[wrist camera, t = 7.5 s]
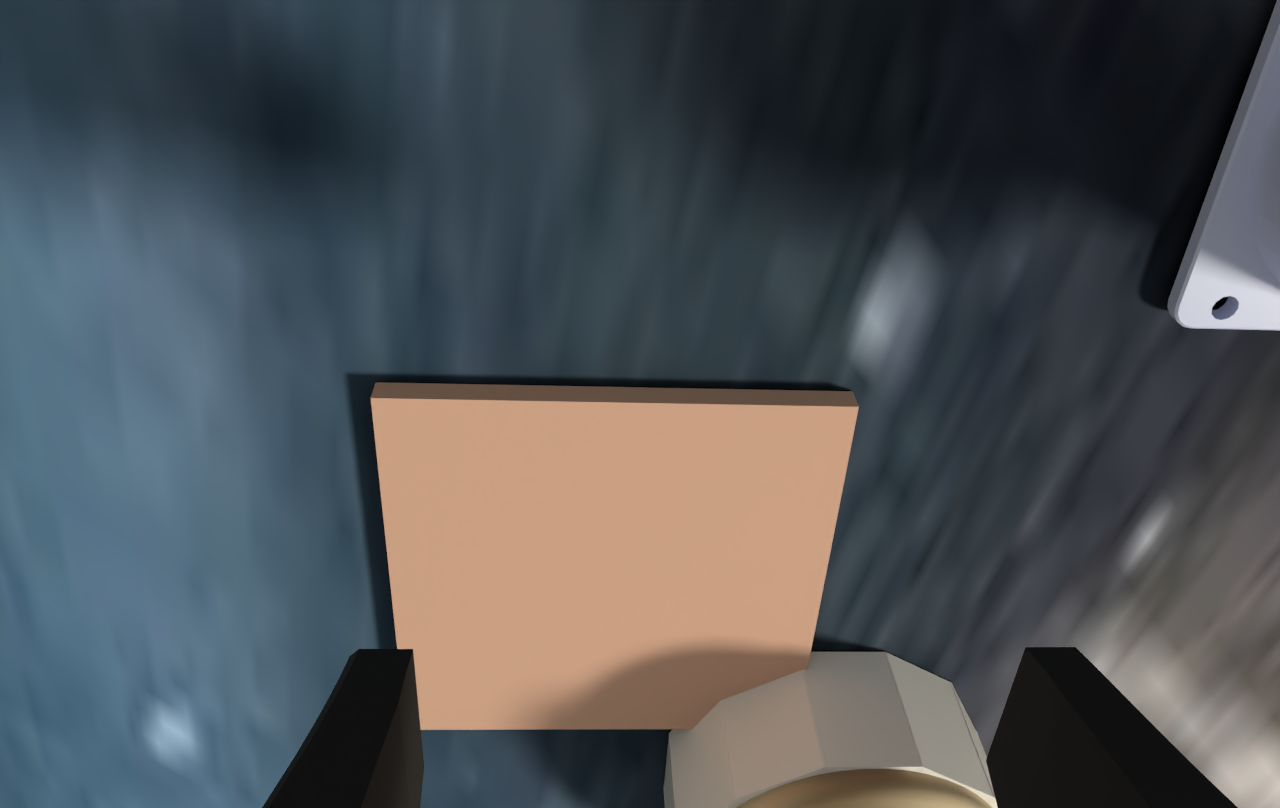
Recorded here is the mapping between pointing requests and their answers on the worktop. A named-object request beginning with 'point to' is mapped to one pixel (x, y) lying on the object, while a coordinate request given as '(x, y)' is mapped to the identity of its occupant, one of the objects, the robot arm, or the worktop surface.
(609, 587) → the mat
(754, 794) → the bowl
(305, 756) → the robot arm
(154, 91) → the worktop surface
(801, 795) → the bamboo lid
